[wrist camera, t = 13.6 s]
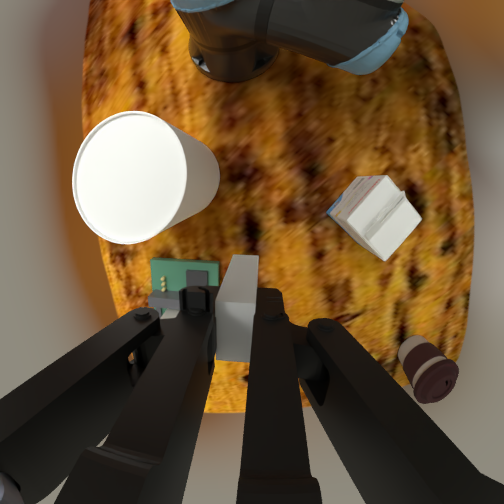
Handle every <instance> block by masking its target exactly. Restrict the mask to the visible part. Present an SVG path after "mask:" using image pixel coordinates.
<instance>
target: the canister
mask: <svg viewBox="0 0 504 504" xmlns="http://www.w3.org/2000/svg"><path fill="white" fill-rule="evenodd" d="M219 181H220V171H219V165H218V162H217V160H216V157H215V156H214V154H213V153H212V151H211V150H210V149H209V148H208V147H207V146H206V145H205V144H203V143H202V142H200V141H198V140H197V139H195V138H193V137H191V136H190V135H188V134H186V133H185V132H183V131H181V130H179V129H178V128H176V127H174V126H172V125H171V124H169V123H167V122H165V121H163V120H162V119H160V118H158V117H156V116H154V115H152V114H149V113H146V112H141V111H127V112H122V113H118V114H115V115H113V116H111V117H109V118H107V119H105V120H104V121H102V122H101V123H99V124H98V125H97V126H96V127H95V128H94V129H93V130H92V131H91V132H90V133H89V134H88V136H87V137H86V139H85V140H84V142H83V143H82V145H81V147H80V149H79V152H78V154H77V156H76V160H75V163H74V168H73V177H72V186H73V195H74V199H75V203H76V206H77V208H78V211H79V213H80V215H81V216H82V218H83V220H84V221H85V223H86V224H87V225H88V226H89V227H90V228H91V230H93V231H94V232H95V233H96V234H97V235H99V236H100V237H102V238H104V239H106V240H108V241H111V242H114V243H119V244H134V243H139V242H142V241H145V240H147V239H150V238H151V237H153V236H155V235H157V234H159V233H161V232H162V231H164V230H166V229H168V228H170V227H172V226H174V225H175V224H177V223H179V222H181V221H183V220H185V219H187V218H189V217H191V216H193V215H195V214H197V213H198V212H200V211H202V210H203V209H204V208H206V207H207V206H208V205H209V204H210V202H211V201H212V200H213V198H214V196H215V194H216V192H217V190H218V186H219Z"/></svg>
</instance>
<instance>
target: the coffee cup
mask: <svg viewBox="0 0 504 504" xmlns="http://www.w3.org/2000/svg"><path fill="white" fill-rule="evenodd" d="M398 358H399V360H400V362H401V364H402V366H403V370H404V372H405V374H406V376H407V378H408V380H409V382H410V384H411V386H412V388H413V389H414V396H415V398H416V399H417V401H418V402H419V403H423V404H426V403H434V402H438V401H440V400H442V399H443V398H445V397H446V396H447V395H448V394H449V393H450V392H451V391H452V389H453V388H454V386H455V383H456V380H457V377H458V374H459V368H458V366H457V365H456V363H455V362H454V361H453V360H450V359H447V357H446V356H445V355H444V354H443V353H442V352H441V351H439V350H438V349H437V348H436V347H435V346H434V345H433V344H431V343H429V342H428V341H427V340H426V339H425V338H424V337H423V336H420V335H414V336H411V337H409V338H408V339H406V340H405V341H404V342H403V343H402V345H401V346H400V348H399V351H398Z"/></svg>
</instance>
